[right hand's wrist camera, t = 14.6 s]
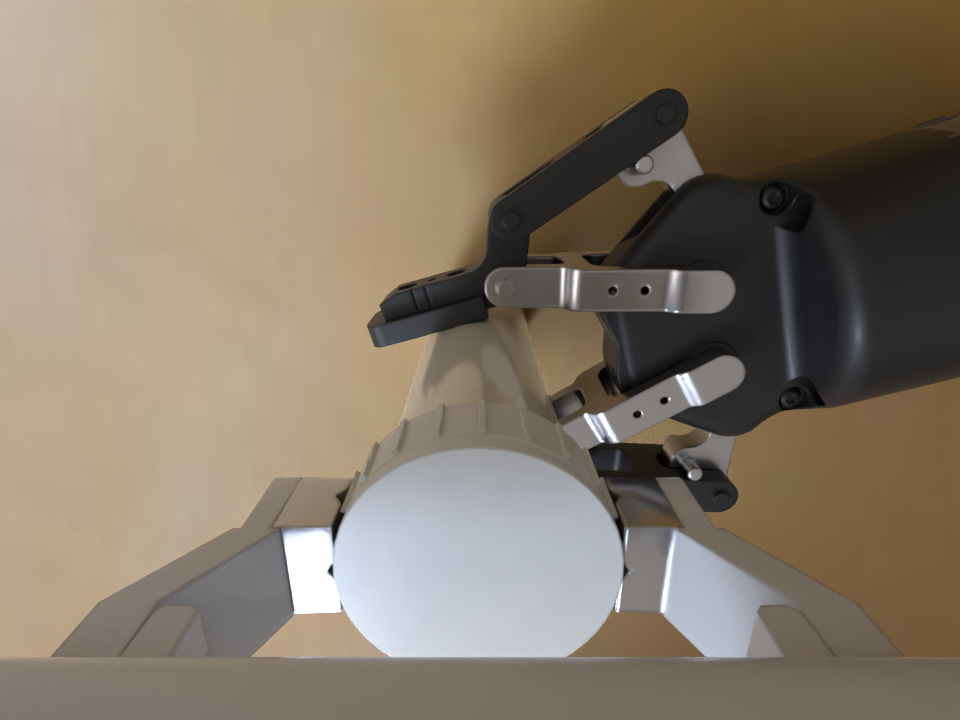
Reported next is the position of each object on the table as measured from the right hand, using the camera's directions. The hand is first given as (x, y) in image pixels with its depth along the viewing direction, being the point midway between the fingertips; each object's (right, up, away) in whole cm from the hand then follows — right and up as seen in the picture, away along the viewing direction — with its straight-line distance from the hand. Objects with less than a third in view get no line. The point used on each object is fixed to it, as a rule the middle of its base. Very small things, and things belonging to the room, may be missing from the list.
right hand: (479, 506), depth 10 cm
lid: (0, -1, -1) cm, 2 cm away
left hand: (-3, +2, +7) cm, 8 cm away
